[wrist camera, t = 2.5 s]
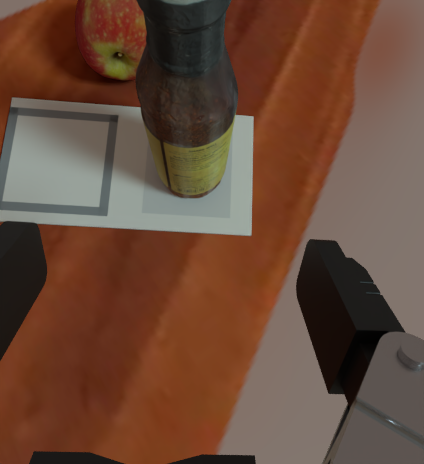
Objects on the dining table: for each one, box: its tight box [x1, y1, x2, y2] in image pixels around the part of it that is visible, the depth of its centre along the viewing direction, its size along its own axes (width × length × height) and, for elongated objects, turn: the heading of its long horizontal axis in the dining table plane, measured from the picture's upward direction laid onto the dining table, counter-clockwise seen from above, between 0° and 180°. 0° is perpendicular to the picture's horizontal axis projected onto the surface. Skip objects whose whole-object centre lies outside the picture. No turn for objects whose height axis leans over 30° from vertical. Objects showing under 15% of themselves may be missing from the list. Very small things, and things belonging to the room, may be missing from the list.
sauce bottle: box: [136, 0, 238, 199], centre depth 23 cm, size 6×6×20 cm
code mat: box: [0, 97, 253, 236], centre depth 32 cm, size 23×12×1 cm, turn 88°
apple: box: [75, 0, 147, 81], centre depth 31 cm, size 8×8×8 cm
